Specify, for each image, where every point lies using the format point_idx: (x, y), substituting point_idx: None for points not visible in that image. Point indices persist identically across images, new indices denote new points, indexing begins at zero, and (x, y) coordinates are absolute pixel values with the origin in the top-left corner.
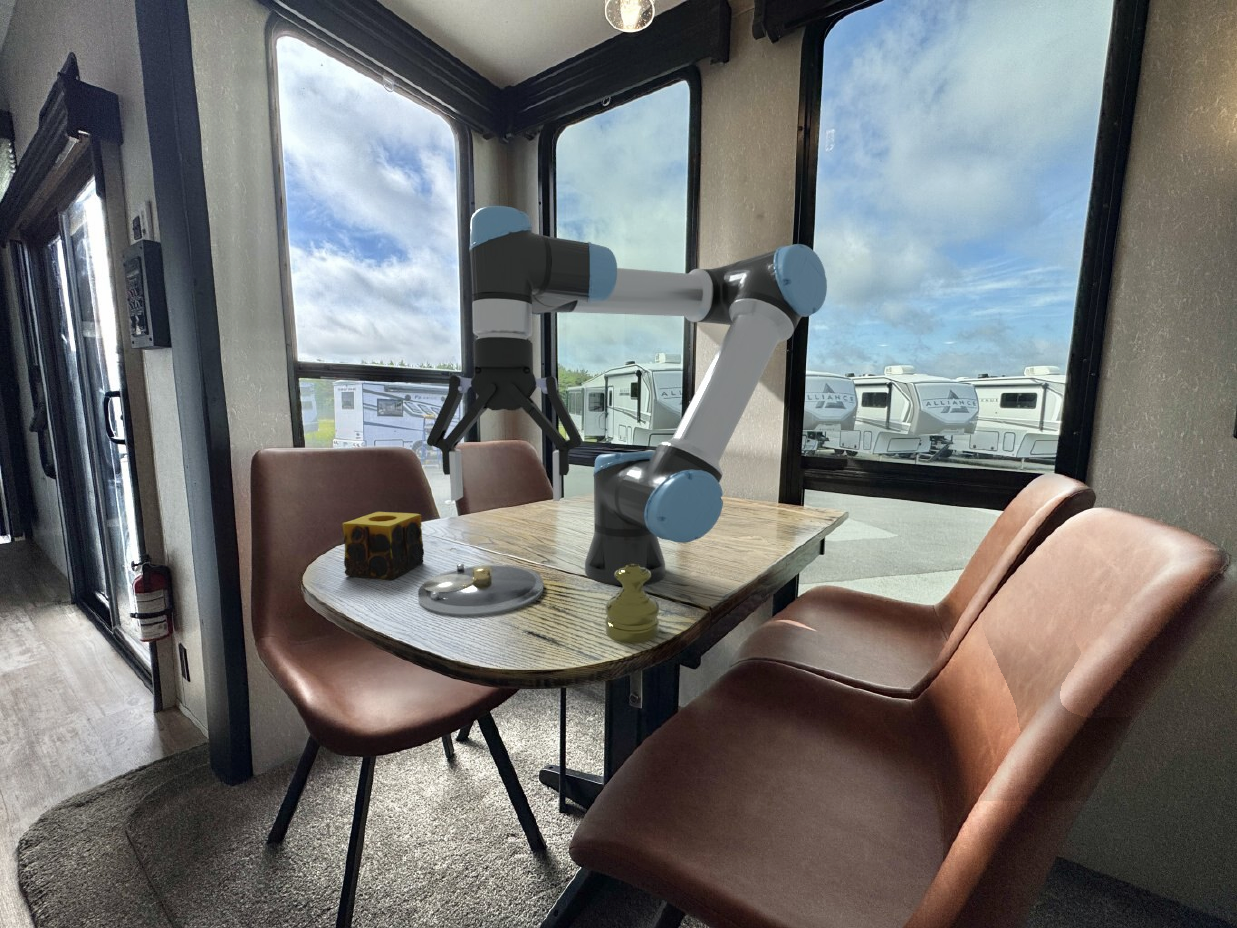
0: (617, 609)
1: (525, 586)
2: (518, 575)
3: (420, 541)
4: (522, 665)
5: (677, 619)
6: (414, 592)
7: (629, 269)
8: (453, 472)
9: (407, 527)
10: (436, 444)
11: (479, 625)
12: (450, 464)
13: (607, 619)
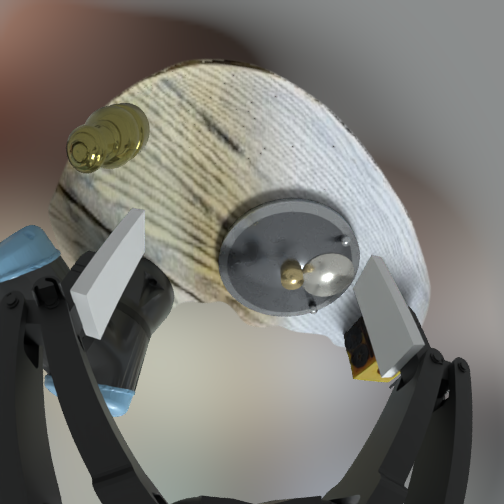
0: (122, 118)
1: (239, 252)
2: (248, 284)
3: (349, 352)
4: (246, 76)
5: None
6: (359, 274)
7: None
8: (398, 301)
9: (367, 358)
10: (447, 366)
11: (295, 178)
12: (411, 316)
13: (141, 136)
